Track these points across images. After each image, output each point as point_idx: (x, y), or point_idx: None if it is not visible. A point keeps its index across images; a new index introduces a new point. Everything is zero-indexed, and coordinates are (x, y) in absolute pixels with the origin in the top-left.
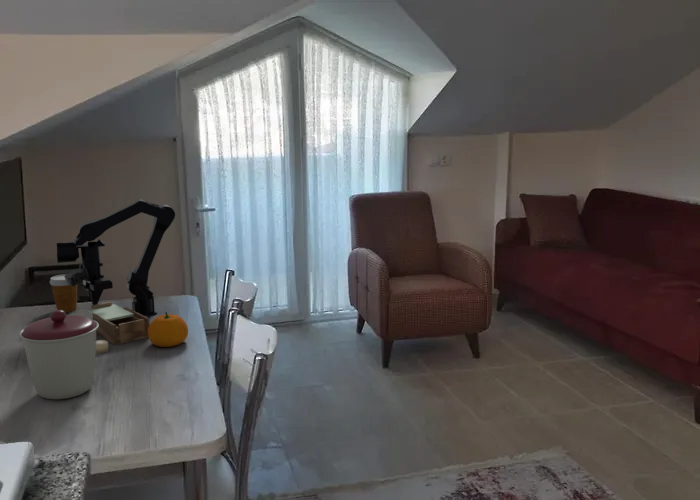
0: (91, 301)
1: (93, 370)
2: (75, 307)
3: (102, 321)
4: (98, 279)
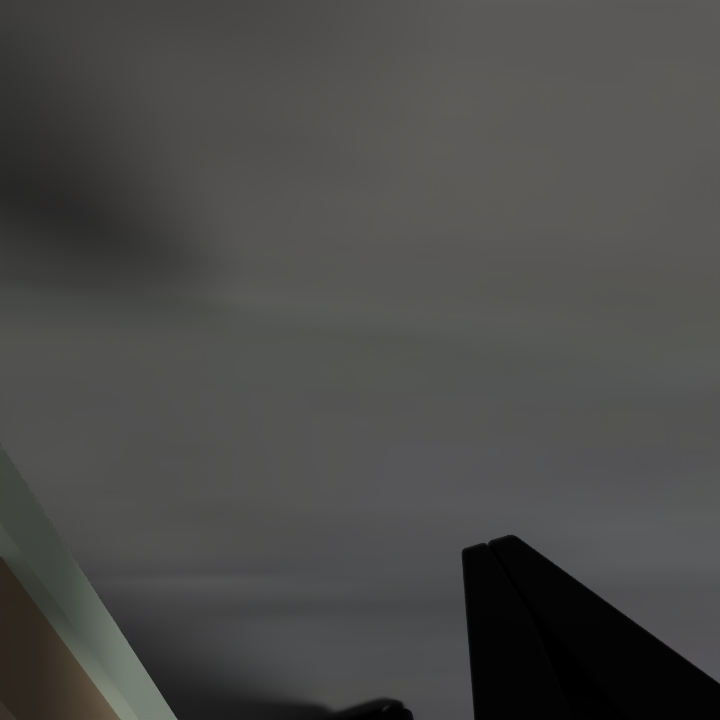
0: (573, 593)
1: None
2: None
3: None
4: None
